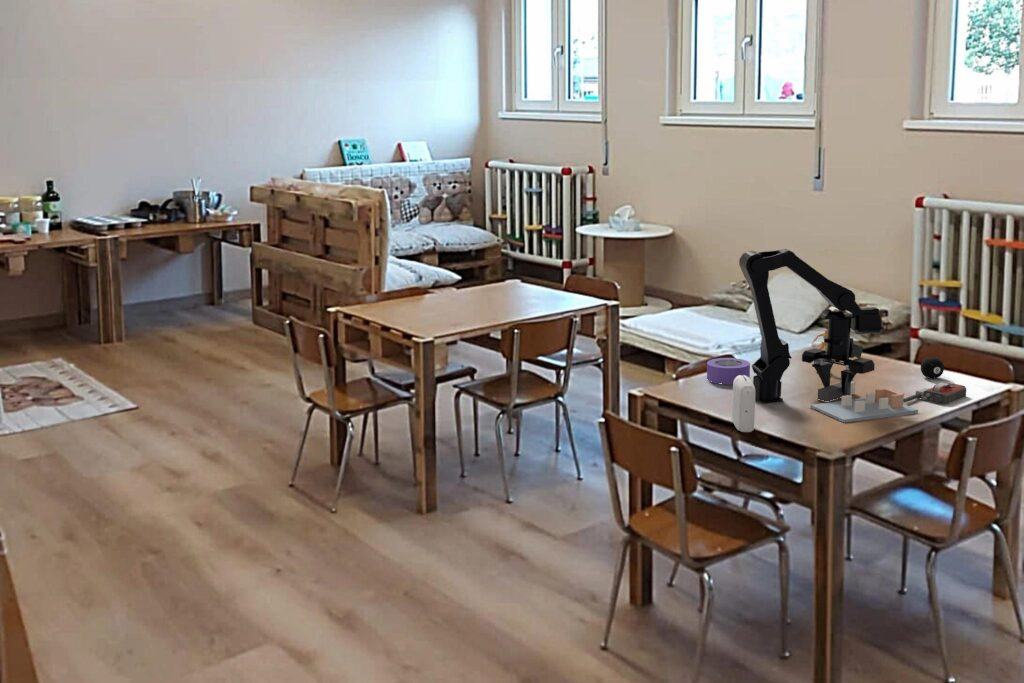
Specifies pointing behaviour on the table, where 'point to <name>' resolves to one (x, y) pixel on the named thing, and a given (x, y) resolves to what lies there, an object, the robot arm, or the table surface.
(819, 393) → the rod
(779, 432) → the table surface
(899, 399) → the end holder
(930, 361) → the billiard ball
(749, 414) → the photo printer
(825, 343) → the figurine
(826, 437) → the table surface
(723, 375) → the tape roll
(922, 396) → the walkie-talkie
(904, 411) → the board
